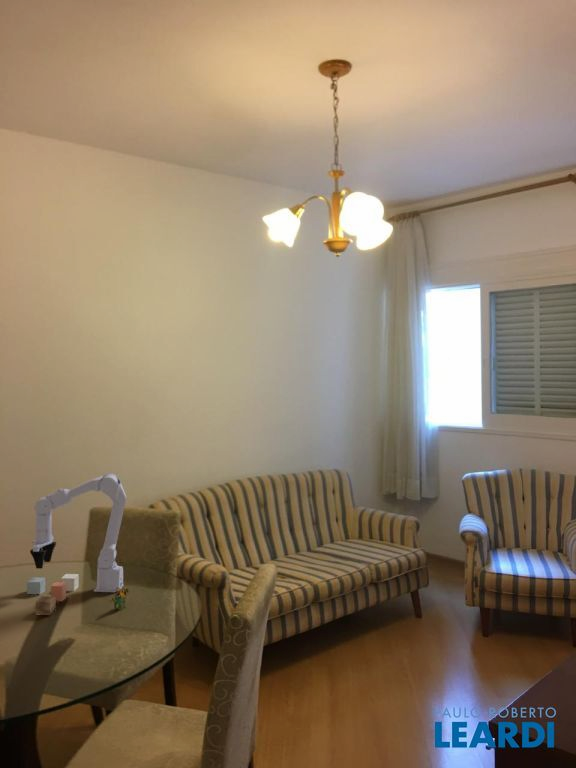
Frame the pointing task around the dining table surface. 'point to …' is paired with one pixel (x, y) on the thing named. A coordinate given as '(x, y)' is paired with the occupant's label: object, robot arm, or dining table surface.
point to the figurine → (119, 597)
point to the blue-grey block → (36, 585)
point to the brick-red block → (58, 591)
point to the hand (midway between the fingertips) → (43, 564)
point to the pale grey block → (71, 581)
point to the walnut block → (45, 605)
